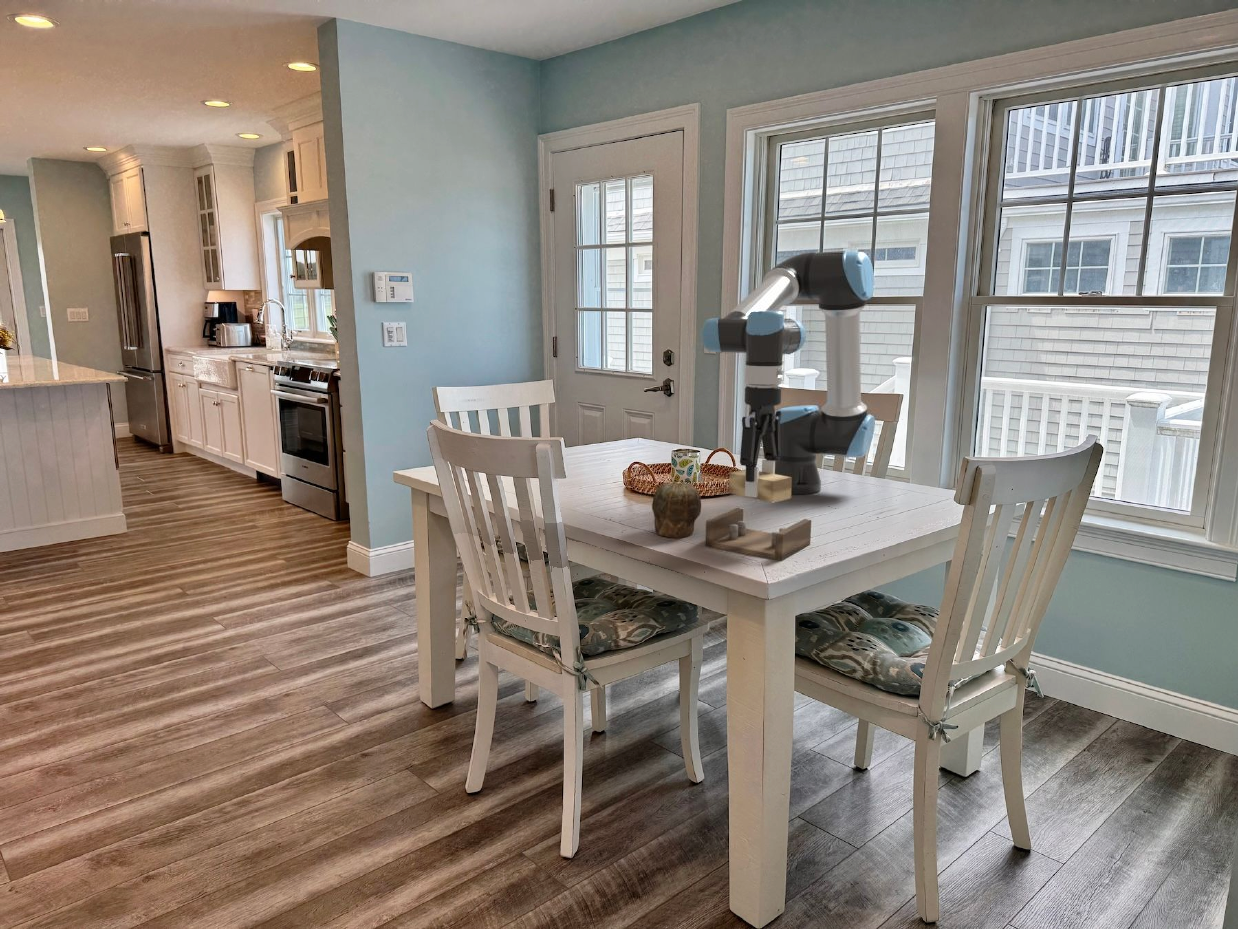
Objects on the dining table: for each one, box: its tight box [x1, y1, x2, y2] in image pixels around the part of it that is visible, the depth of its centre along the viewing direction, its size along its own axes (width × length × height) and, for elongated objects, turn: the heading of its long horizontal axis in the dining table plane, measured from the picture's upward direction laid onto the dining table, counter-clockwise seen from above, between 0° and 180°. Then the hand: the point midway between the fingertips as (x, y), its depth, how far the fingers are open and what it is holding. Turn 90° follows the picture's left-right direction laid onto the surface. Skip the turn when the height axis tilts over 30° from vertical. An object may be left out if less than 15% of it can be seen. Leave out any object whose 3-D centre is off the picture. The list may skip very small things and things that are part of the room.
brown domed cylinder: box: [651, 481, 702, 539], centre depth 188 cm, size 11×11×12 cm
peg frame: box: [705, 507, 812, 562], centre depth 180 cm, size 18×14×6 cm
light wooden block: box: [728, 469, 792, 504], centre depth 177 cm, size 12×6×4 cm, turn 40°
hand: (759, 492), depth 178 cm, fingers closed on light wooden block, 7 cm apart
